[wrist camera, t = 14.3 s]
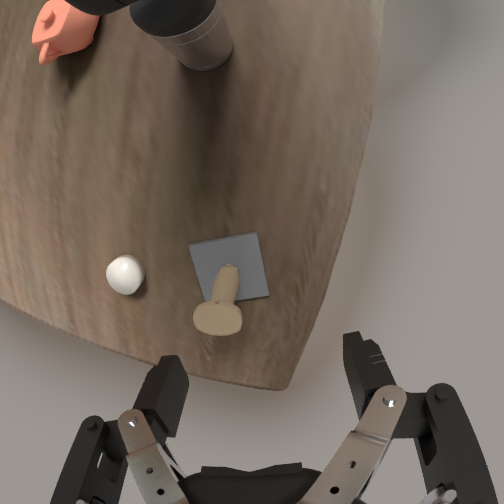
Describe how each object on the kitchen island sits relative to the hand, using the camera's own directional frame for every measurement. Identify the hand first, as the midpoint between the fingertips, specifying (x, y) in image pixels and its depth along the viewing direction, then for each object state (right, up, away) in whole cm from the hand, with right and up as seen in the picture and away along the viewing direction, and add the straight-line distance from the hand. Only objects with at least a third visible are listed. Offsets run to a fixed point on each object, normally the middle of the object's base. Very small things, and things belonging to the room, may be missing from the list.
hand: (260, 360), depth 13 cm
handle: (-4, +2, +38) cm, 38 cm away
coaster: (-4, +2, +38) cm, 39 cm away
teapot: (-34, +49, +21) cm, 63 cm away
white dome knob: (-24, +1, +40) cm, 47 cm away
